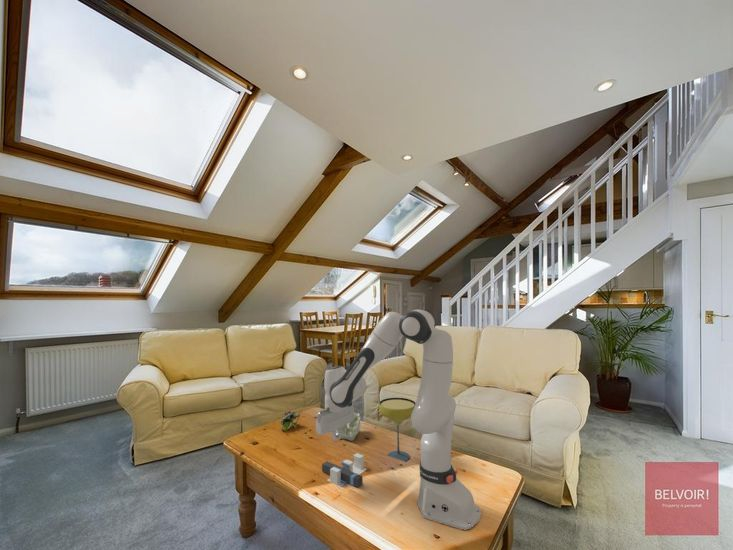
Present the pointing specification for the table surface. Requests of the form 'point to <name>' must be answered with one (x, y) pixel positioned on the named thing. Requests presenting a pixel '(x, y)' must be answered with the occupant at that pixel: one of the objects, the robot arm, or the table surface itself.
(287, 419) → the passion flower
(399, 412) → the cocktail glass
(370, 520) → the table surface
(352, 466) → the grey and blue pillars
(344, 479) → the long dark grey plank
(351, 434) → the folded clay sculpture
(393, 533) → the table surface
